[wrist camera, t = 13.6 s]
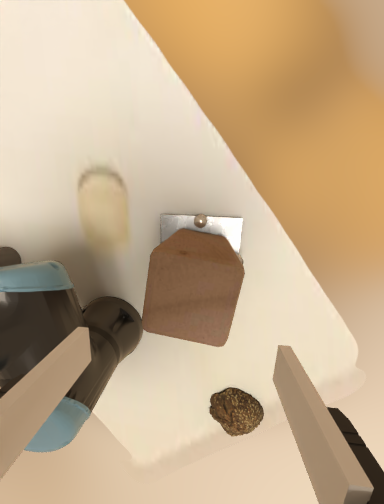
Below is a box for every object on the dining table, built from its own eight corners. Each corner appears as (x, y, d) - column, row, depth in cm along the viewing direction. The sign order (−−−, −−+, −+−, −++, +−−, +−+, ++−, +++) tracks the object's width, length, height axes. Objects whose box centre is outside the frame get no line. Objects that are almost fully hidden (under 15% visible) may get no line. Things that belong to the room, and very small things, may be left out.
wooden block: (178, 227, 39) (148, 247, 19) (228, 236, 38) (249, 267, 19) (171, 273, 41) (137, 333, 22) (217, 283, 41) (226, 352, 21)
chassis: (160, 288, 44) (154, 297, 39) (160, 211, 40) (154, 212, 35) (235, 293, 42) (238, 303, 38) (243, 215, 39) (248, 217, 34)
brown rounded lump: (268, 410, 49) (275, 432, 44) (231, 432, 52) (233, 455, 47) (235, 377, 48) (238, 397, 43) (199, 402, 50) (198, 422, 46)
